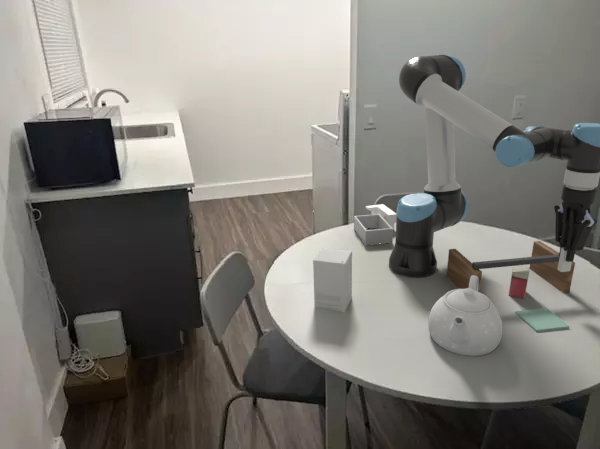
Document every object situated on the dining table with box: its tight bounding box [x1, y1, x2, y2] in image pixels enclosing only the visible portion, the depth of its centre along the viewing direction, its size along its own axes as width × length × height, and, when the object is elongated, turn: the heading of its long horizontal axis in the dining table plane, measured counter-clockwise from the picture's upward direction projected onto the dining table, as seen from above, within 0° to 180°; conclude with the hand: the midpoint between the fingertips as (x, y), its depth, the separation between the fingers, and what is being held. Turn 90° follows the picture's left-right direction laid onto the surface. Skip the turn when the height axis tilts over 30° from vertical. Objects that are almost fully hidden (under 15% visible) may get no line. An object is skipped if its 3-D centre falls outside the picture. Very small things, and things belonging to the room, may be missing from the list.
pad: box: [514, 307, 570, 332], centre depth 121 cm, size 9×9×1 cm
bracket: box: [365, 203, 397, 231], centre depth 186 cm, size 13×7×8 cm
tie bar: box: [471, 254, 560, 270], centre depth 131 cm, size 29×2×2 cm, turn 99°
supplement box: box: [312, 247, 353, 313], centre depth 130 cm, size 9×9×15 cm
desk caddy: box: [353, 214, 394, 246], centre depth 176 cm, size 10×16×6 cm, turn 9°
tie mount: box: [446, 240, 576, 293], centre depth 138 cm, size 30×16×9 cm, turn 99°
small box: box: [508, 265, 530, 299], centre depth 133 cm, size 5×4×8 cm
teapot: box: [427, 275, 504, 357], centre depth 113 cm, size 19×18×14 cm
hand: (563, 270), depth 126 cm, fingers closed
